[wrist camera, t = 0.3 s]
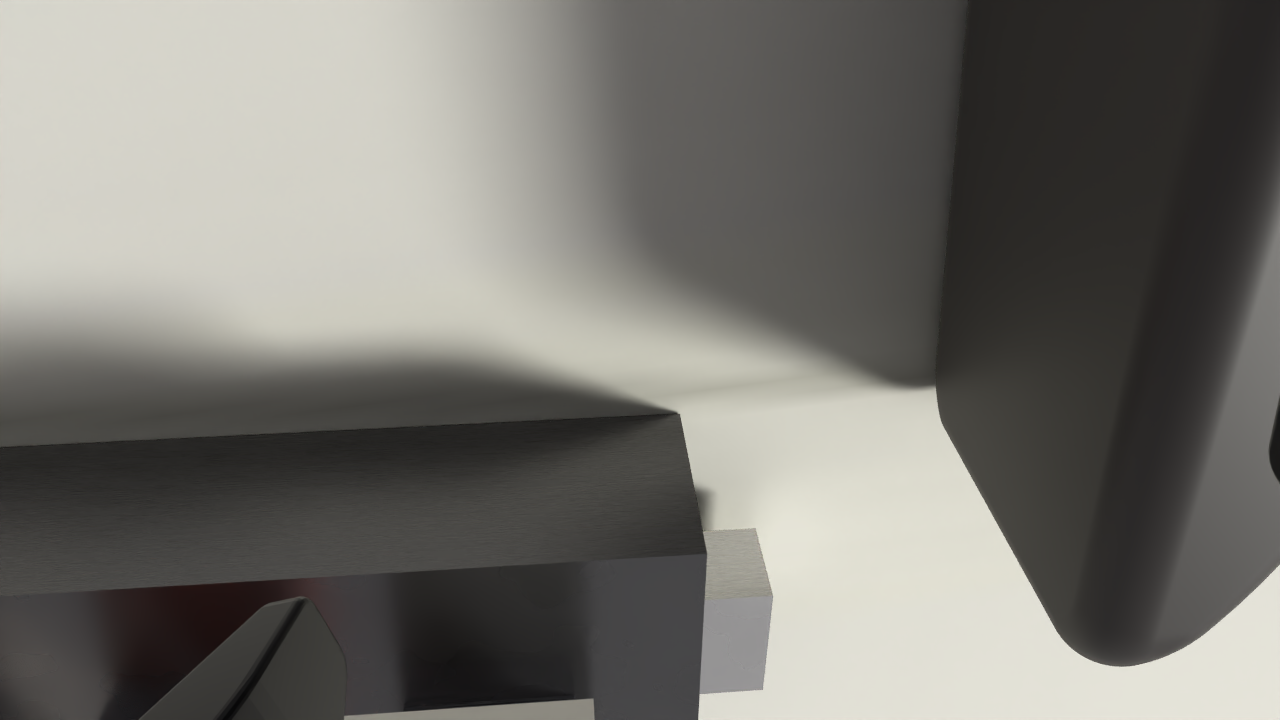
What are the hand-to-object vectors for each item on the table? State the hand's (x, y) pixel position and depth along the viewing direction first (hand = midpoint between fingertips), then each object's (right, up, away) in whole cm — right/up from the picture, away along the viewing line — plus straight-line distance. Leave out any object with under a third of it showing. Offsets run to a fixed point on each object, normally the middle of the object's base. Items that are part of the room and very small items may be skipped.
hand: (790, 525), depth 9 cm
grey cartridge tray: (-12, -5, +18) cm, 23 cm away
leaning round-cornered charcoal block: (+6, +7, +13) cm, 16 cm away
